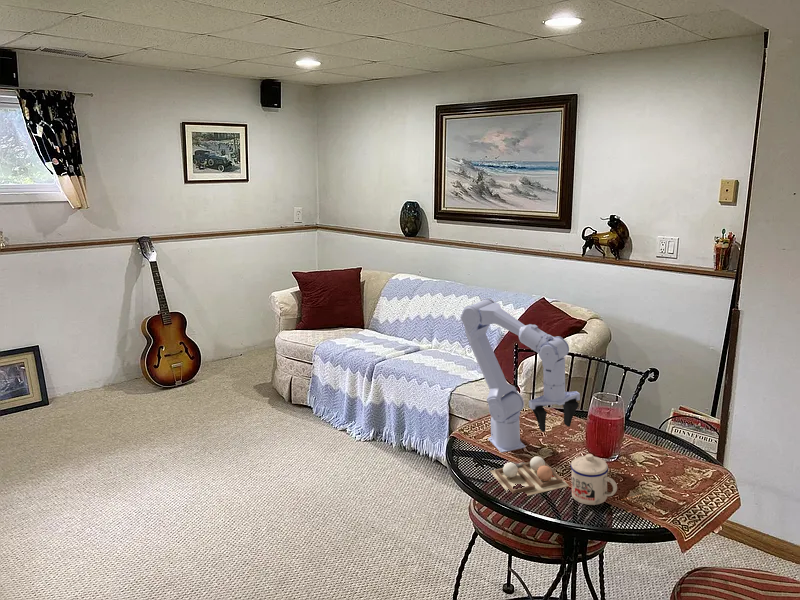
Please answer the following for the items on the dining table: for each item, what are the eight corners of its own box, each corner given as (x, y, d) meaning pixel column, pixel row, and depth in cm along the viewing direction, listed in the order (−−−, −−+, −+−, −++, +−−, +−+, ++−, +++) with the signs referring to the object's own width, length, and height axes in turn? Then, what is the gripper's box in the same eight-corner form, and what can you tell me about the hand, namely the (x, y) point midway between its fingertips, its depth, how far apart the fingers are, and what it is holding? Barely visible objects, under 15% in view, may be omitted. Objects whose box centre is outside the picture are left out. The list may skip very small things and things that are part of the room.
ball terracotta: (536, 478, 179) (532, 466, 178) (549, 472, 179) (545, 460, 178) (543, 486, 175) (539, 474, 174) (556, 479, 176) (553, 467, 174)
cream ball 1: (500, 474, 181) (500, 461, 180) (514, 471, 182) (513, 458, 181) (507, 481, 178) (506, 468, 177) (520, 478, 179) (520, 465, 178)
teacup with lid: (563, 497, 169) (563, 456, 166) (583, 482, 175) (583, 442, 172) (606, 515, 161) (606, 472, 158) (625, 499, 167) (626, 457, 164)
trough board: (489, 472, 184) (489, 467, 183) (542, 460, 188) (542, 455, 187) (513, 500, 170) (513, 495, 169) (569, 487, 174) (569, 482, 173)
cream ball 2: (527, 468, 183) (527, 455, 182) (540, 465, 184) (540, 452, 183) (534, 475, 180) (534, 462, 179) (547, 472, 181) (547, 459, 180)
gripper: (536, 392, 175) (537, 439, 178) (586, 382, 178) (586, 428, 182) (524, 382, 181) (525, 428, 185) (572, 373, 185) (572, 418, 188)
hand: (554, 427), depth 184 cm, fingers open, 7 cm apart
